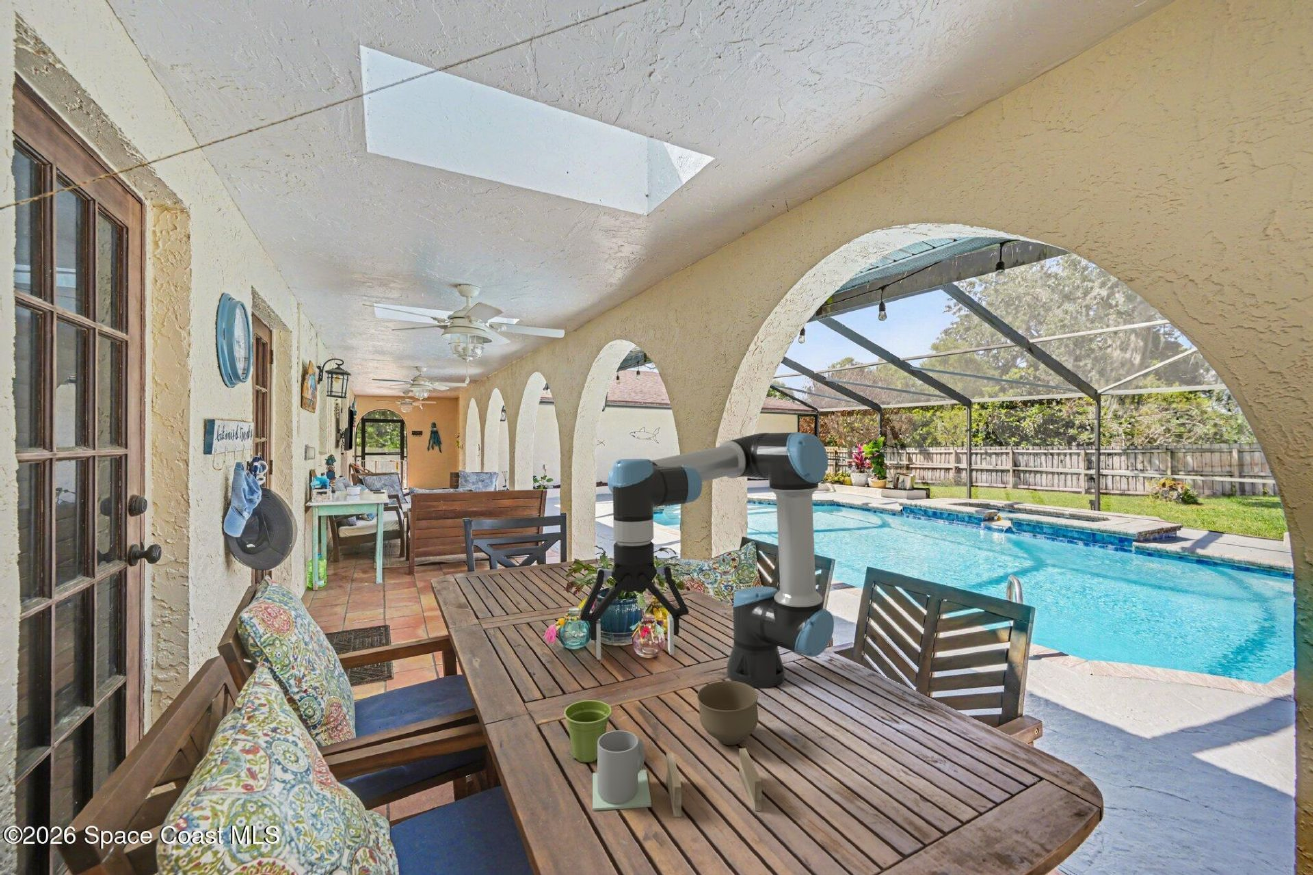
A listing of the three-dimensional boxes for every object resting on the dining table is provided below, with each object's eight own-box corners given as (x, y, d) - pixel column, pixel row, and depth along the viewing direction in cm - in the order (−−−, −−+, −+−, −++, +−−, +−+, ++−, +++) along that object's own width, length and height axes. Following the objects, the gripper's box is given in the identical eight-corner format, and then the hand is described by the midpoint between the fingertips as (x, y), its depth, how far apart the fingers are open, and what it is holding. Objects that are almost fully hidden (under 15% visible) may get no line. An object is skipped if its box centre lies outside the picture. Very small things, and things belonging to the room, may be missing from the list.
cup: (588, 791, 98) (589, 741, 98) (630, 767, 105) (630, 720, 105) (615, 810, 93) (615, 757, 93) (657, 784, 100) (657, 735, 100)
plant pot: (565, 742, 114) (565, 700, 114) (611, 740, 115) (611, 698, 115) (561, 769, 105) (562, 723, 105) (611, 767, 106) (611, 721, 106)
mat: (645, 771, 104) (645, 769, 104) (651, 806, 95) (651, 804, 95) (592, 775, 103) (592, 772, 103) (592, 810, 93) (592, 808, 93)
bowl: (686, 731, 119) (687, 685, 119) (737, 720, 124) (737, 675, 124) (715, 763, 107) (716, 712, 107) (770, 749, 112) (770, 700, 112)
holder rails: (745, 775, 104) (745, 748, 104) (761, 810, 94) (761, 781, 94) (666, 780, 102) (666, 753, 102) (674, 817, 92) (674, 787, 92)
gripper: (695, 535, 109) (696, 642, 109) (566, 540, 106) (568, 650, 106) (703, 542, 101) (704, 658, 102) (565, 548, 98) (567, 667, 98)
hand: (635, 654), depth 104 cm, fingers open, 13 cm apart
